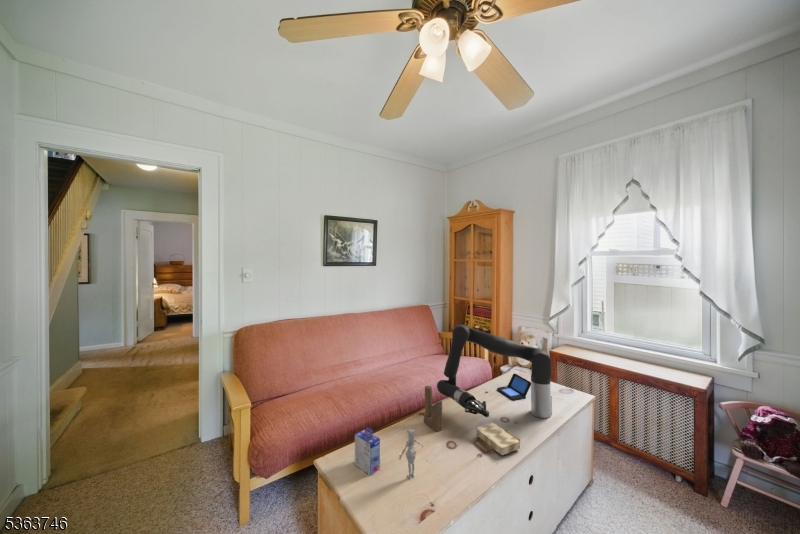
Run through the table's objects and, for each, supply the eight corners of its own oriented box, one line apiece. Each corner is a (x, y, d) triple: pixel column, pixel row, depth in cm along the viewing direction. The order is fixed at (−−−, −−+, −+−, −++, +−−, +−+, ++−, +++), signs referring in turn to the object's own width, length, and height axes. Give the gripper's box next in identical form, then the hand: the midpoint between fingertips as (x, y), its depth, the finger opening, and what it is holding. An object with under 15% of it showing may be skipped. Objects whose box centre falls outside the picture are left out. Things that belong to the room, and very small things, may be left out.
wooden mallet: (436, 432, 137) (435, 394, 137) (423, 421, 147) (422, 386, 146) (442, 429, 139) (442, 392, 139) (429, 419, 149) (428, 384, 148)
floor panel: (506, 431, 137) (506, 429, 137) (519, 441, 129) (519, 439, 129) (473, 443, 129) (473, 440, 129) (486, 453, 121) (486, 451, 121)
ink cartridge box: (381, 468, 114) (380, 432, 114) (370, 476, 110) (369, 438, 110) (365, 457, 121) (364, 422, 120) (354, 464, 117) (353, 428, 116)
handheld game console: (496, 390, 181) (496, 375, 181) (514, 387, 185) (514, 372, 185) (512, 401, 166) (512, 385, 166) (532, 398, 170) (531, 382, 170)
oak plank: (493, 422, 137) (519, 441, 123) (493, 429, 137) (519, 449, 123) (476, 428, 133) (501, 448, 119) (476, 435, 133) (502, 456, 119)
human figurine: (420, 467, 114) (419, 422, 114) (426, 472, 111) (426, 426, 111) (395, 482, 107) (395, 433, 106) (402, 488, 104) (401, 438, 103)
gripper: (453, 394, 146) (476, 410, 130) (474, 389, 152) (498, 403, 136) (453, 409, 146) (476, 426, 130) (474, 403, 152) (499, 419, 136)
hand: (487, 414), depth 133 cm, fingers closed
